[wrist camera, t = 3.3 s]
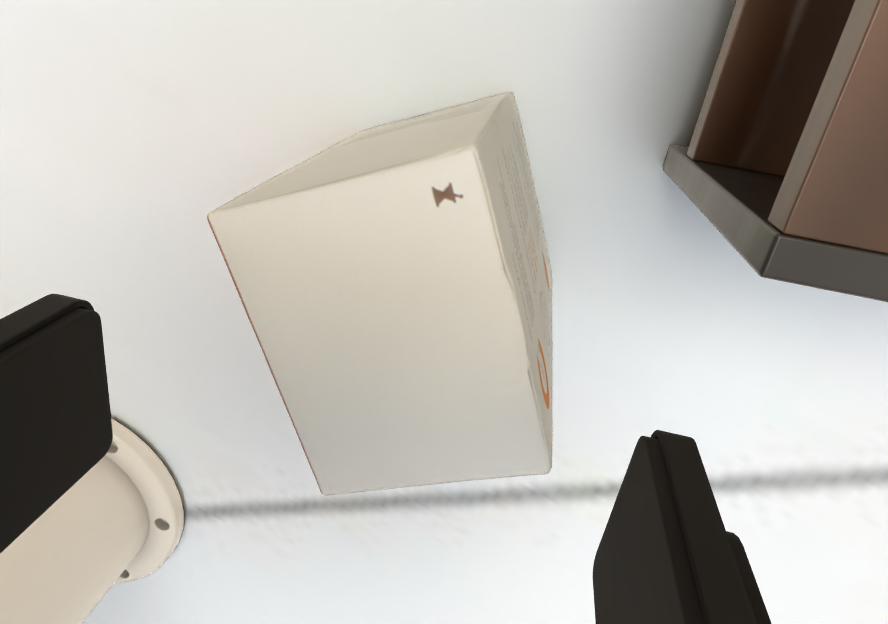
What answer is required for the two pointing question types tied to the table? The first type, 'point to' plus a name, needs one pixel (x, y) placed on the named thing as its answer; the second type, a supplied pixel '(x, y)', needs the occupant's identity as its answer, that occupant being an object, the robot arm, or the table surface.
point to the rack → (798, 143)
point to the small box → (405, 300)
